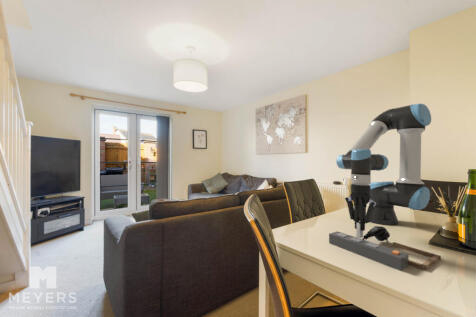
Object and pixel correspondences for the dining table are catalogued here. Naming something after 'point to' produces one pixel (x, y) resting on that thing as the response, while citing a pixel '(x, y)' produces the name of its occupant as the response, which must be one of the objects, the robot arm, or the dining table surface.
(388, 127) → the robot arm
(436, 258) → the bay
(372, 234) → the power plug
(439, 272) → the dining table surface
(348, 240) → the power strip
